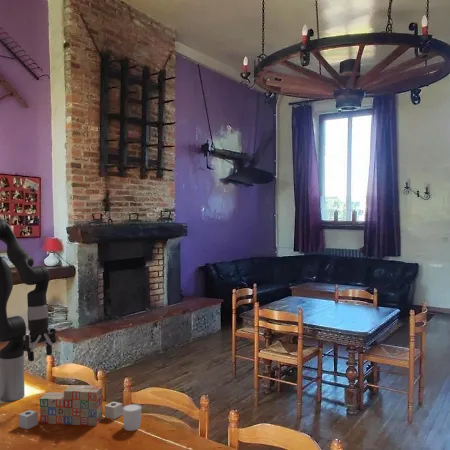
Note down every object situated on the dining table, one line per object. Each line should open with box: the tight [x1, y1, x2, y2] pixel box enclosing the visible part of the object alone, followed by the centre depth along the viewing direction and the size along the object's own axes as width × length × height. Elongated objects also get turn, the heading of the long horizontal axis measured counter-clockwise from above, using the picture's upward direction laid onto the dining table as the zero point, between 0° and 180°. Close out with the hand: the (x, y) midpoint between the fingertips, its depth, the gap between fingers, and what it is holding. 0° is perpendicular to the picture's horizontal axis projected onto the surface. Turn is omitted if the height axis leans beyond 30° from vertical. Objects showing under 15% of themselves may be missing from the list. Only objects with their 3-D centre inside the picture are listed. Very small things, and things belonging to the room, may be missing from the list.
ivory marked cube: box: [104, 401, 123, 420], centre depth 176 cm, size 4×4×5 cm
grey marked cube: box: [18, 409, 39, 430], centre depth 169 cm, size 4×4×5 cm
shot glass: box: [122, 403, 143, 432], centre depth 167 cm, size 7×7×7 cm
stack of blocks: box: [39, 384, 103, 427], centre depth 173 cm, size 21×6×12 cm, turn 84°
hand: (40, 358), depth 186 cm, fingers open, 8 cm apart
